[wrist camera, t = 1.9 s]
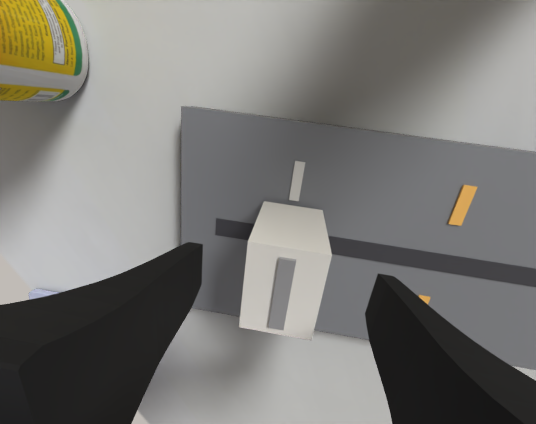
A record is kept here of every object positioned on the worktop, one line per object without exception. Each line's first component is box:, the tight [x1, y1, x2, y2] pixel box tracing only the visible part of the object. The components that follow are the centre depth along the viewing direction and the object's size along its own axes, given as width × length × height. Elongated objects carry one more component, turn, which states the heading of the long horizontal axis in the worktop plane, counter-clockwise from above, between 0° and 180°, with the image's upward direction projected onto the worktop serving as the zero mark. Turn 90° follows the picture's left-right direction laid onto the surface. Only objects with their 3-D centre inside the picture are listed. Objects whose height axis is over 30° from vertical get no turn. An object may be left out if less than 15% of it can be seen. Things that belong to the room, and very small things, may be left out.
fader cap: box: [239, 201, 332, 340], centre depth 12 cm, size 4×3×5 cm
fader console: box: [181, 106, 536, 370], centre depth 15 cm, size 12×22×2 cm, turn 83°
